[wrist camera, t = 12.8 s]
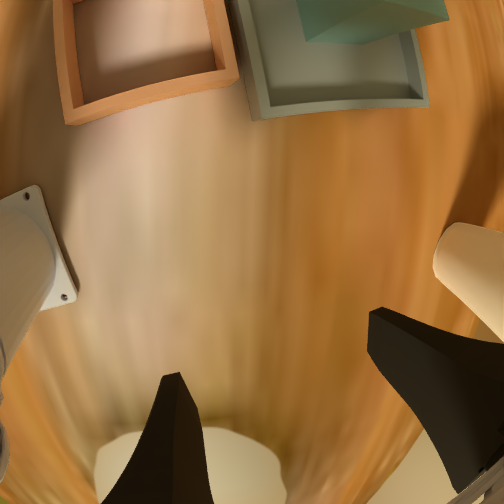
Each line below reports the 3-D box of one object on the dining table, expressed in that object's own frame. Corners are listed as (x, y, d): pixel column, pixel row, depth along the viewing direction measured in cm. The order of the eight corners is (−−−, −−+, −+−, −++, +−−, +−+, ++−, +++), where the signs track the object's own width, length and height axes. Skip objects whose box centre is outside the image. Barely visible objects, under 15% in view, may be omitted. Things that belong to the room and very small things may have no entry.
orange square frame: (78, 125, 14) (65, 123, 12) (64, 0, 11) (52, -14, 8) (230, 85, 16) (239, 78, 14) (206, -34, 12) (211, -53, 10)
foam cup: (442, 195, 23) (565, 244, 11) (485, 217, 26) (578, 260, 14) (409, 292, 26) (509, 371, 14) (457, 296, 29) (538, 354, 17)
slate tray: (252, 121, 17) (261, 119, 15) (214, -58, 11) (219, -73, 10) (412, 107, 19) (429, 107, 17) (374, -42, 14) (388, -50, 12)
